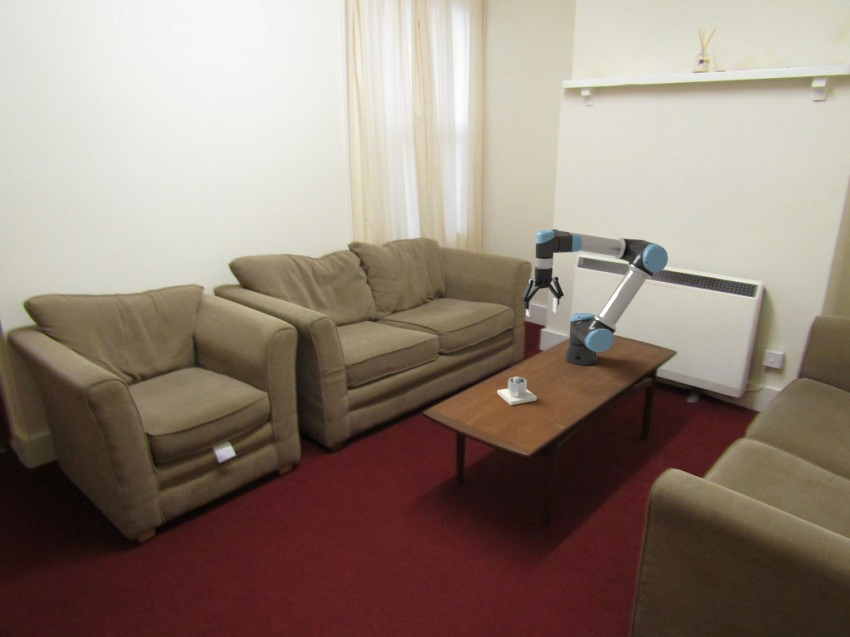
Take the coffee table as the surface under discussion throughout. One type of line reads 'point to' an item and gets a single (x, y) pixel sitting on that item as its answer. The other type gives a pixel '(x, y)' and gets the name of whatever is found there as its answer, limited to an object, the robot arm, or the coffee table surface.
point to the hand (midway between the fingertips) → (541, 314)
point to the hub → (517, 388)
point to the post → (515, 400)
